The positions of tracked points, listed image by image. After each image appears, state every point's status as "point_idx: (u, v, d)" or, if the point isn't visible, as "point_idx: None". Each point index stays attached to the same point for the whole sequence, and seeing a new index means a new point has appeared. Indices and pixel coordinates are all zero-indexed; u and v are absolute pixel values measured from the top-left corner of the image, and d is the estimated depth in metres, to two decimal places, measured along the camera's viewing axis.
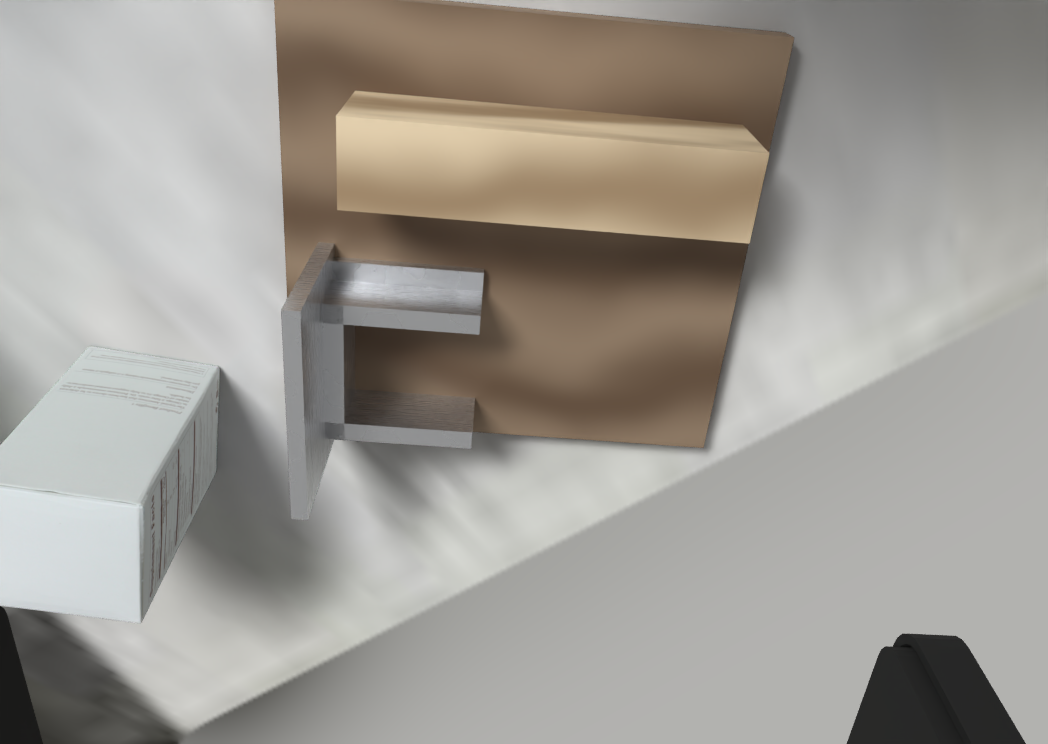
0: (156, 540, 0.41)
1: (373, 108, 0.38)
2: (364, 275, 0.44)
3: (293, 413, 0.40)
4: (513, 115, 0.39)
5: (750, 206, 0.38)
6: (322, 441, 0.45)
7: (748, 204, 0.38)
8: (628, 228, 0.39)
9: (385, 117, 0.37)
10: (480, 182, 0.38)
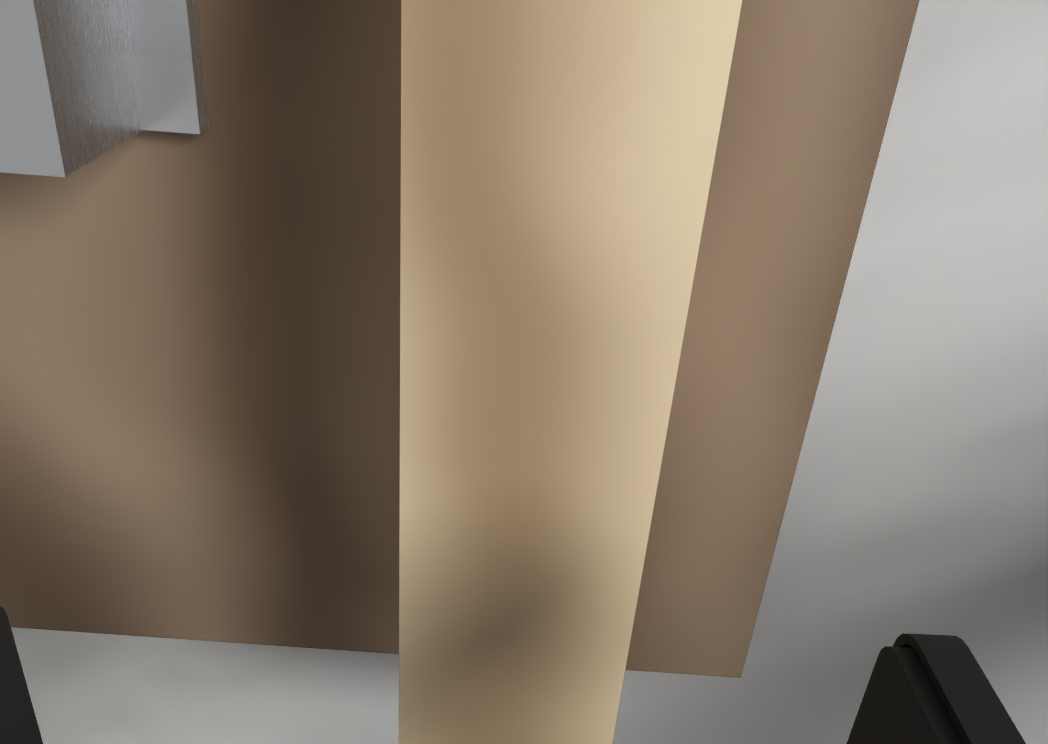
0: None
1: None
2: None
3: None
4: None
5: None
6: None
7: None
8: (413, 586, 0.15)
9: None
10: (530, 220, 0.12)
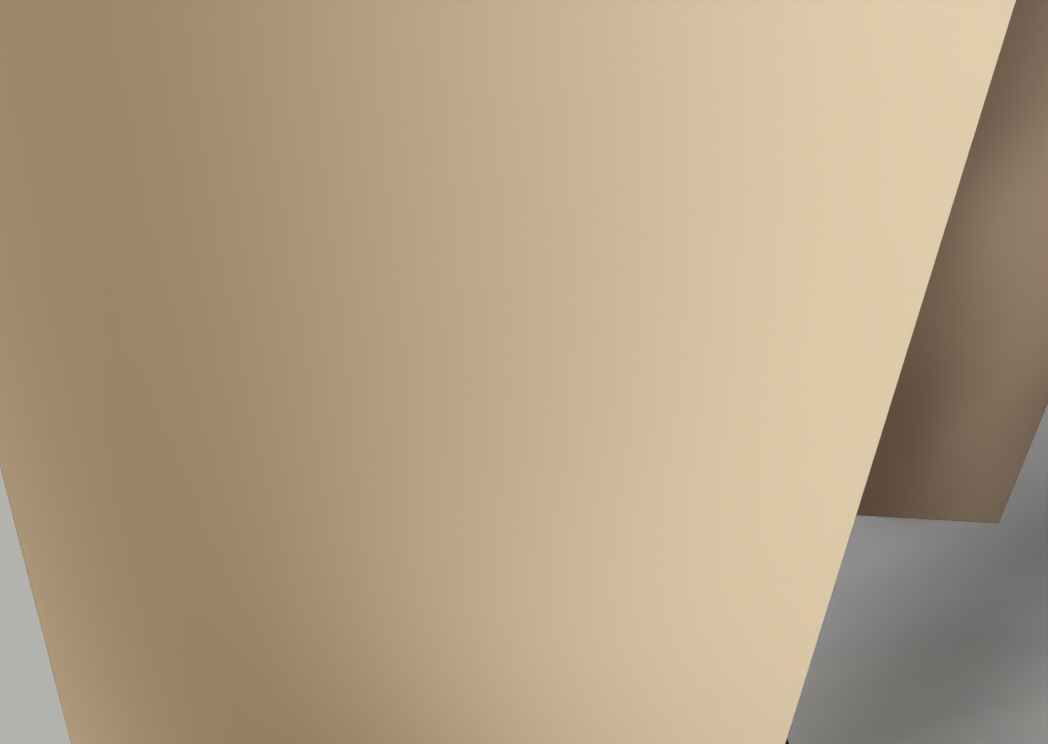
0: None
1: None
2: None
3: None
4: None
5: None
6: None
7: None
8: None
9: None
10: (381, 705, 0.05)
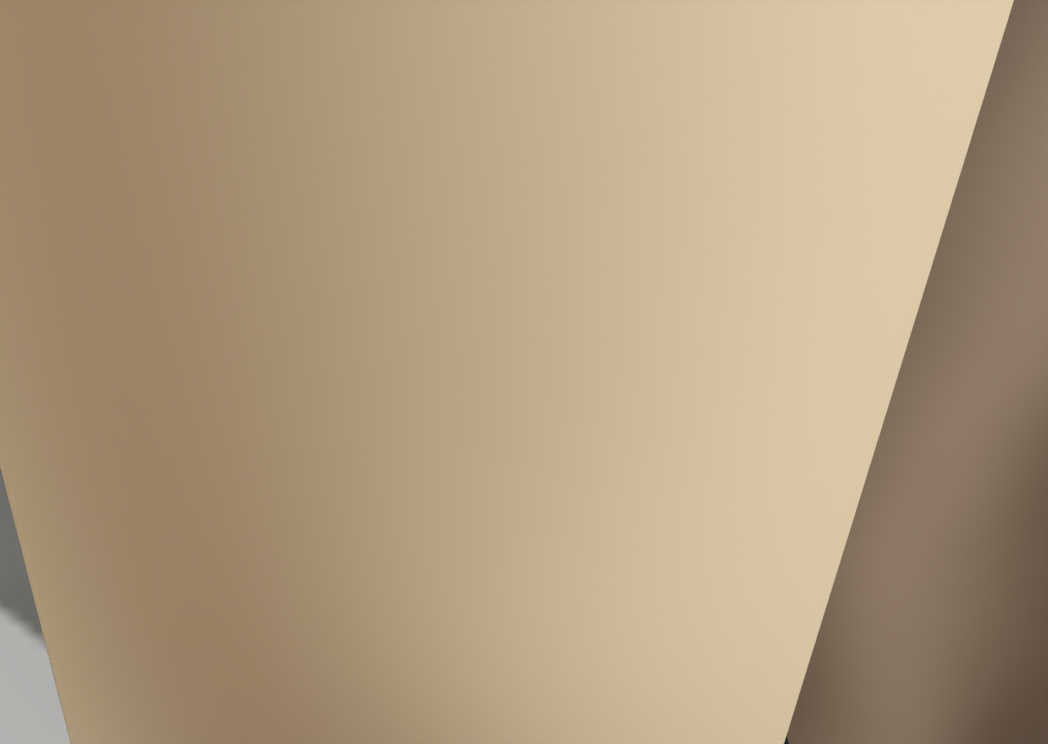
0: None
1: None
2: None
3: None
4: None
5: None
6: None
7: None
8: None
9: None
10: (379, 706, 0.05)
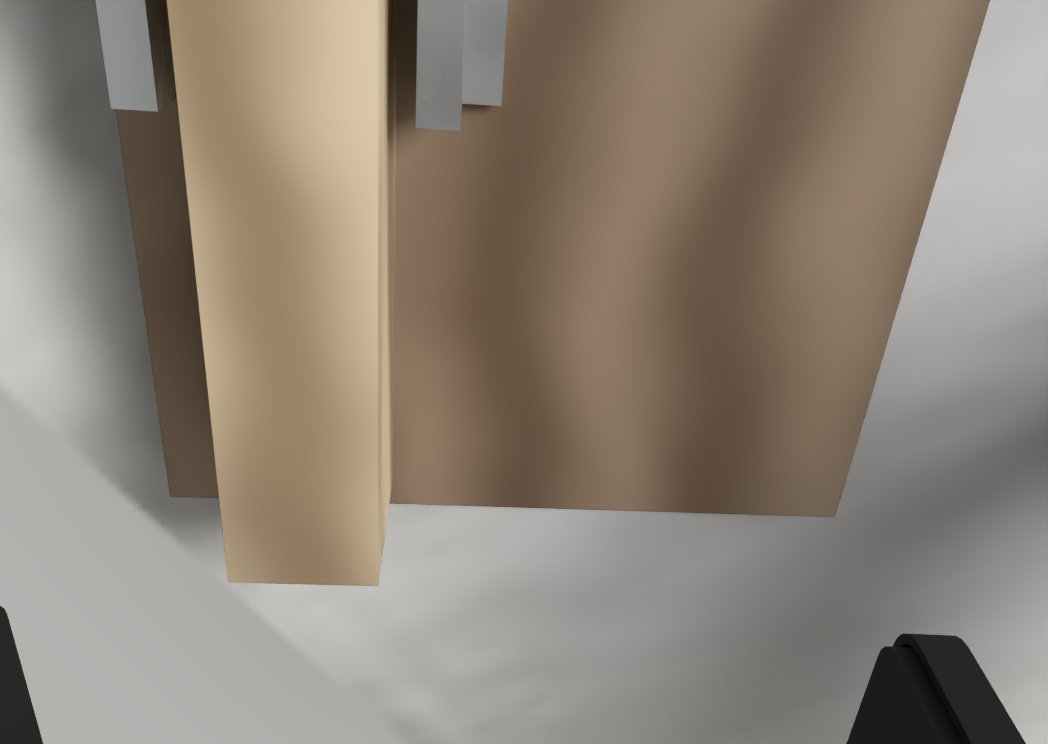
0: None
1: None
2: None
3: None
4: (388, 168, 0.22)
5: (290, 574, 0.24)
6: None
7: (293, 572, 0.24)
8: (220, 409, 0.21)
9: None
10: (266, 141, 0.18)
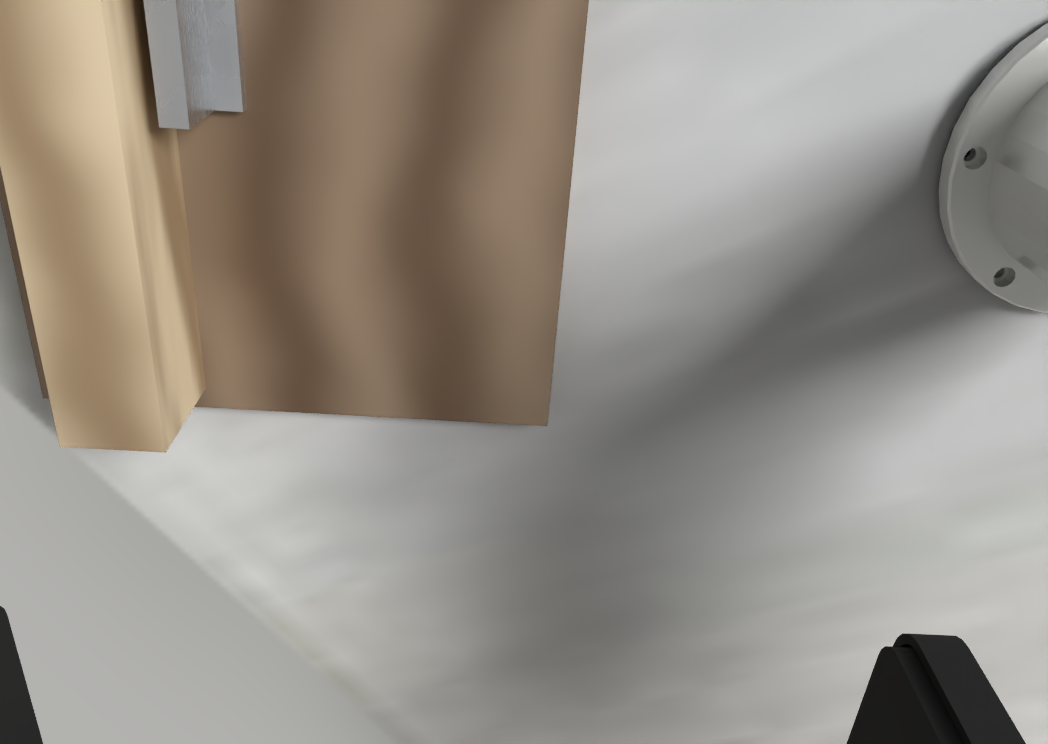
0: None
1: None
2: None
3: None
4: (157, 155, 0.31)
5: (103, 441, 0.34)
6: None
7: (104, 440, 0.34)
8: (39, 318, 0.31)
9: (107, 1, 0.27)
10: (48, 135, 0.28)
